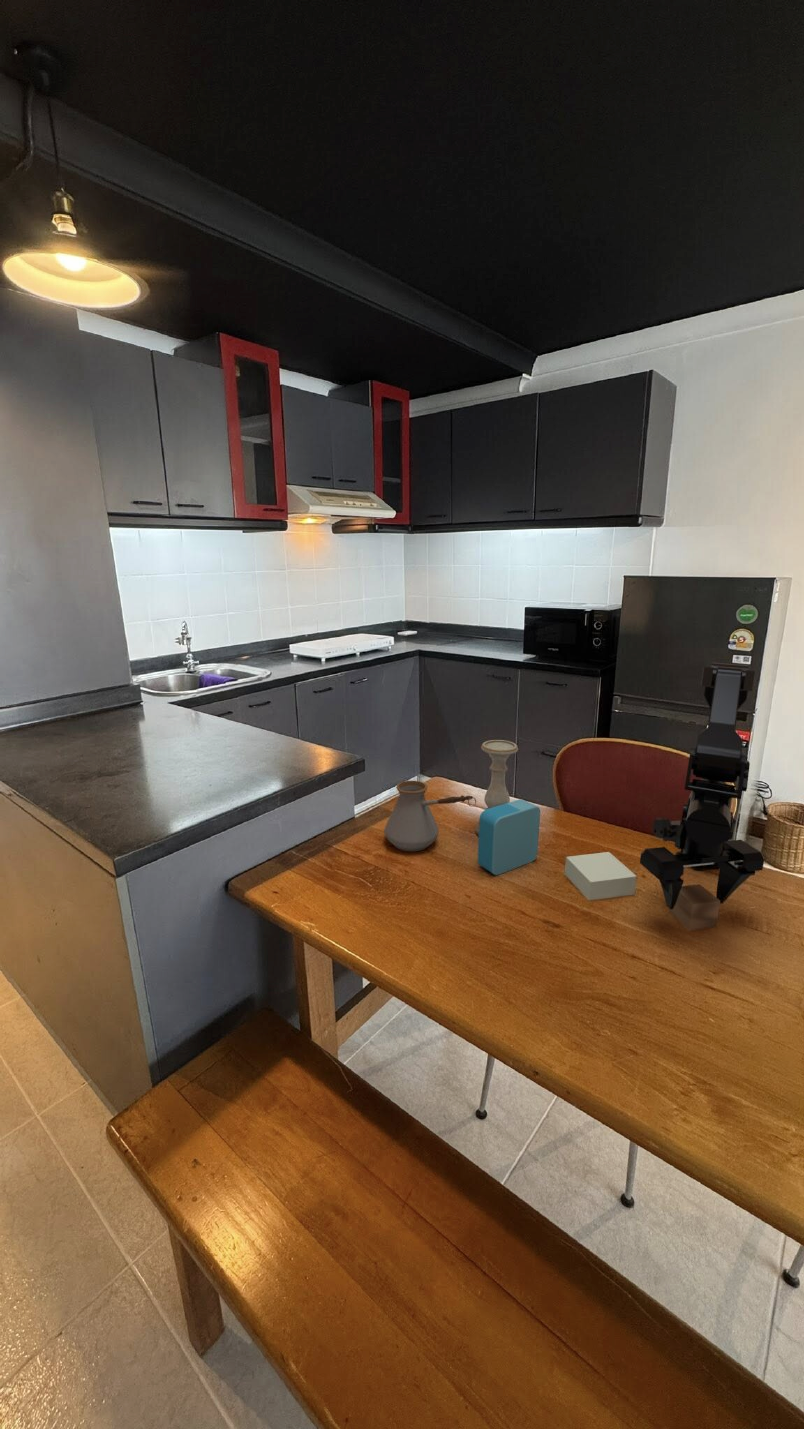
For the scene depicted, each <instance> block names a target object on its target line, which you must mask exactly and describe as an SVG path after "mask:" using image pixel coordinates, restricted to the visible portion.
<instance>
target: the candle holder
mask: <svg viewBox="0 0 804 1429" xmlns="http://www.w3.org/2000/svg"><path fill="white" fill-rule="evenodd" d="M480 748H481V750H482V751H483V753H484V752H485V753H486V754H488V755H489V757H490V759H491V761H492V763H491V765H490V766H489V770H490V771H491V778H490V779H491V780H490V784H489V787H488V788H487V790H486V792H485V794H484V799H483V800H484V804H485V805H486V807H487V808H485V810H486V809H489V808H492V807H496V806H499V805H502V804H506V803H509V802H511V798H510V797H511V796H510V794H509V791H508V788H507V786H506V778H505V776H506V775H505V774H506V772H507V771H508V766H507V765H506V762H507V759H508V758H509V757H510V755H514V754H516V753H517V752H518V750H519V747H518V745H517V744H516V743H515V742H513V741H510V740H505V739H504V740H503V739H491V740H490V739H489V740H487V741H484V742H483V743H482V744H481V747H480ZM474 829H475V830H474V831H475V834H476V835H477V836H478V837H479V822H478V823H477V824H476V825H475V828H474Z"/></svg>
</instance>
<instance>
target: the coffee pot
mask: <svg viewBox="0 0 804 1429" xmlns="http://www.w3.org/2000/svg"><path fill="white" fill-rule="evenodd" d="M395 788H396V790H397V791H398V793H399V796H398V798H397V800H396V803H395V804H394V806H393V809H392V811H391V813H390V816H389V817H388V820H387V822H386V825H385V827H384V829H383V830H384V831H383V832H384V835H385V837H386V839H387V840H388V841H389V842H390V844H392V845H394V847H395V848H396V849H399V850H401V851H404V852H418V851H422V850H425V849H427V848H428V847H429V846H431V844H433V843H434V842H435V841H436V839H437V838H438V836H439V833H440V829H439V827H438V824H437V822H436V819H435V818H434V817H435V816H434V815H433V813H432V811H431V808H430V806H433V805H446V804H447V805H448V804H456V803H458V802H462V803H464V802H465V801H467V804H468V806H469V807H472V808H473V807H475V806H476V805H477V799H476V797H473V795H466V796H465V795H463V794H462V795H460V796H450V797H446V798H440V799H439V798H438V799H435V800H427V799H426V797H425V793H426V792H427V789H428V785H427V784H426V783H425V782H423V781H420V780H405V781H401V782H399V783H397V785H396V787H395ZM473 799H474V805H471V804H470V801H471V800H473Z"/></svg>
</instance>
